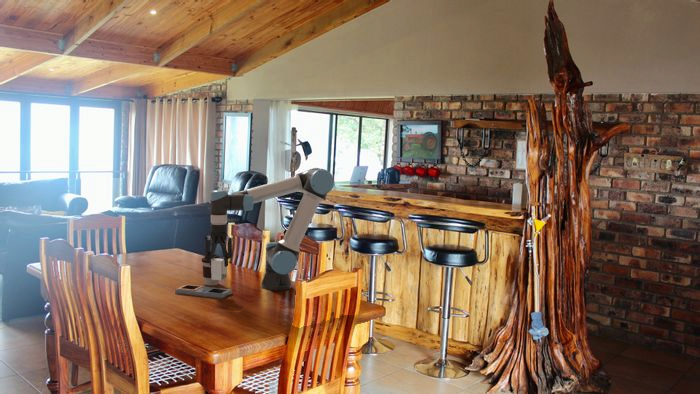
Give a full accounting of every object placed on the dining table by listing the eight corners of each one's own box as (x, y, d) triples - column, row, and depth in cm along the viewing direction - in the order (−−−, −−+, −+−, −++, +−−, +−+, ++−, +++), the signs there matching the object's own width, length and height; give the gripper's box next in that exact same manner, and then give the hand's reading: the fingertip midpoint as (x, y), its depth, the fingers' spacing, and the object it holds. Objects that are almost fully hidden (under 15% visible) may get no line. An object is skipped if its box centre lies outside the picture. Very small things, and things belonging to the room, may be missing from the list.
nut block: (226, 277, 277) (226, 259, 276) (221, 280, 272) (221, 261, 271) (216, 277, 278) (216, 258, 277) (211, 279, 273) (211, 260, 272)
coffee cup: (216, 287, 291) (217, 257, 290) (197, 286, 293) (198, 256, 292) (224, 283, 301) (225, 254, 300) (206, 281, 303) (207, 252, 302)
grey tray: (231, 294, 279) (231, 288, 279) (222, 299, 269) (222, 293, 269) (186, 289, 285) (186, 284, 285) (175, 294, 275) (175, 288, 275)
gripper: (240, 223, 274) (240, 272, 276) (205, 221, 278) (205, 269, 280) (233, 225, 267) (233, 276, 269) (197, 223, 271) (197, 273, 273)
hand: (218, 272), depth 275 cm, fingers closed on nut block, 5 cm apart
